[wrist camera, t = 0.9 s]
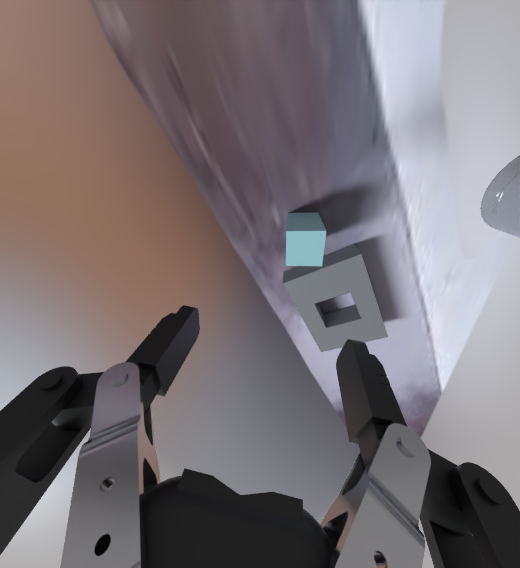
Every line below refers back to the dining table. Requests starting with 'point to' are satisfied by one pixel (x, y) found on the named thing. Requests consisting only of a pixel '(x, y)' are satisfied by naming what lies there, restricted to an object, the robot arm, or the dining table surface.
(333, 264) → the grey slotted block
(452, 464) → the robot arm
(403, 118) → the dining table surface
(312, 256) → the teal rectangular block
